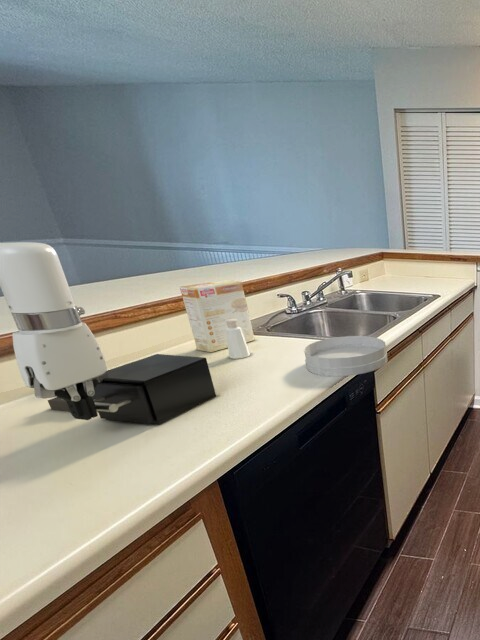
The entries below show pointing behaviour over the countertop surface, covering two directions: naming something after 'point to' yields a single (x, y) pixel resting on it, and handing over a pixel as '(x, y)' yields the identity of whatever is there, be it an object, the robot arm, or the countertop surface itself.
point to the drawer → (122, 402)
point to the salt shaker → (236, 340)
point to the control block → (58, 404)
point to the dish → (345, 355)
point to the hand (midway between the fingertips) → (86, 417)
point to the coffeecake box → (216, 312)
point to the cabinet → (168, 383)
